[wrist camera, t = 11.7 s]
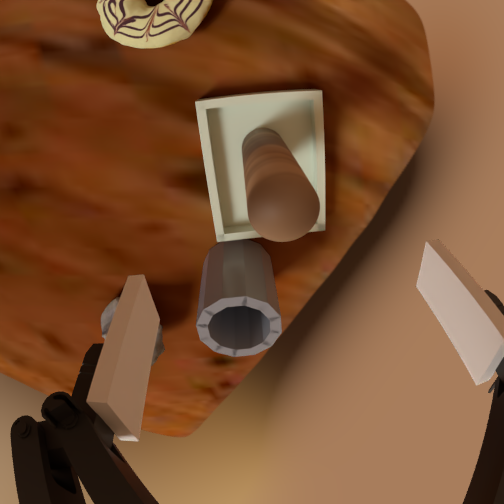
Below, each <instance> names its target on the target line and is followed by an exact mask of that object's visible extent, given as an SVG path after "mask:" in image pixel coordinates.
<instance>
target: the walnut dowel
mask: <svg viewBox="0 0 504 504" xmlns="http://www.w3.org/2000/svg"><path fill="white" fill-rule="evenodd" d="M242 158H243V169H244V180H245V190H246V201H247V211H248V218H249V221H250V223H251V225H252V227H253V228H254V230H255V231H256V232H257V233H258V234H259V235H261V236H262V237H264V238H266V239H268V240H272V241H276V242H287V241H292V240H295V239H298V238H300V237H302V236H304V235H305V234H306V233H308V232H309V231H310V230H311V229H312V227H313V226H314V225H315V223H316V221H317V219H318V216H319V212H320V201H319V197H318V195H317V193H316V191H315V189H314V188H313V186H312V185H311V183H310V181H309V180H308V178H307V176H306V175H305V173H304V172H303V170H302V169H301V167H300V165H299V164H298V162H297V161H296V159H295V158H294V156H293V155H292V153H291V151H290V150H289V148H288V147H287V145H286V144H285V142H284V141H283V139H282V138H281V136H280V135H279V134H278V133H277V132H276V131H274V130H272V129H269V128H258V129H255V130H252V131H251V132H250V133H248V134H247V135H246V137H245V138H244V140H243V143H242Z"/></svg>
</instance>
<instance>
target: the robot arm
mask: <svg viewBox="0 0 504 504" xmlns="http://www.w3.org/2000/svg"><path fill="white" fill-rule="evenodd" d="M416 287H417V288H418V290H419V291H420V293H421V294H422V296H423V297H424V299H425V300H426V302H427V303H428V305H429V307H430V308H431V310H432V311H433V313H434V314H435V316H436V317H437V319H438V320H439V322H440V324H441V325H442V327H443V329H444V330H445V332H446V333H447V335H448V337H449V338H450V340H451V342H452V343H453V345H454V347H455V348H456V350H457V352H458V353H459V355H460V357H461V359H462V360H463V362H464V364H465V366H466V367H467V369H468V371H469V373H470V375H471V376H472V378H473V380H474V382H475V383H476V385H479V384H481V383H483V382H485V381H488V380H490V378H491V377H492V375H493V374H494V372H495V371H496V372H497V374H498V377H497V379H496V380H495V382H494V383H493V385H492V386H491V388H490V389H489V392H488V393H490V392H491V391H492V390H493V389H494V393H493V400H492V405H491V410H490V414H489V420H488V423H487V428H486V432H485V436H484V440H483V444H482V447H481V451H480V455H479V458H478V461H477V464H476V468H475V471H474V474H473V477H472V480H471V483H470V486H469V488H468V491H467V494H466V497H465V499H464V502H463V504H504V306H503V304H502V303H501V301H500V300H499V299H498V298H497V296H495V295H494V294H493V293H491V292H490V291H488V290H485V291H484V290H483V289H482V288H481V287H480V285H479V284H478V283H477V282H476V281H475V279H474V278H473V277H472V276H471V275H470V274H469V272H468V271H467V270H466V269H465V268H464V267H463V265H462V264H461V263H460V262H459V261H458V260H457V259H456V258H455V257H454V256H453V254H452V253H451V252H450V251H449V250H448V249H447V248H446V247H445V246H444V245H443V244H442V242H441V241H440V240H439V239H437V240H430V241H426V244H425V250H424V254H423V259H422V263H421V268H420V272H419V276H418V281H417V285H416ZM159 322H160V318H159V315H158V313H157V310H156V307H155V304H154V302H153V299H152V296H151V293H150V290H149V288H148V285H147V282H146V279H145V276H144V274H143V275H134V276H128V278H127V281H126V284H125V286H124V289H123V291H122V294H121V297H120V299H119V302H118V305H117V307H116V310H115V313H114V316H113V319H112V321H111V324H110V327H109V330H108V333H107V336H106V339H105V342H104V343H103V344H93V345H92V346H91V347H90V349H89V350H88V351H87V352H86V354H85V357H84V360H83V363H82V366H81V369H80V372H79V373H80V374H79V375H78V378H77V381H76V384H75V387H74V390H73V393H72V396H70V395H69V394H68V393H66V392H55V393H53V394H51V395H50V396H49V397H47V398H46V400H45V401H44V403H43V405H42V409H41V413H42V417H43V418H44V419H45V420H46V421H42V422H36V421H35V420H34V419H33V418H32V417H30V416H22V417H20V418H18V419H17V420H16V421H15V422H14V423H13V425H12V427H11V447H12V457H13V465H14V474H15V481H16V487H17V493H18V499H19V504H86V503H85V499H84V496H83V493H82V489H81V486H80V482H79V479H78V477H79V478H80V480H81V482H82V484H83V485H84V487H85V489H86V491H87V492H88V494H89V496H90V497H91V499H92V501H93V502H94V504H159V503H158V502H157V501H156V500H155V498H154V497H153V496H152V495H151V493H150V492H149V491H148V490H147V488H146V487H145V486H144V484H143V483H142V482H141V481H140V479H139V478H138V476H136V474H135V472H134V471H133V470H132V468H131V467H130V466H129V464H128V463H127V461H126V460H125V459H124V457H123V456H122V454H121V453H120V451H119V450H118V448H117V447H116V445H115V444H114V443H113V437H114V434H115V435H116V436H117V437H118V438H119V439H120V440H127V441H139V437H140V430H141V423H142V416H143V410H144V403H145V397H146V391H147V385H148V379H149V374H150V368H151V363H152V357H153V352H154V347H155V342H156V337H157V332H158V327H159Z"/></svg>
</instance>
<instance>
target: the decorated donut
mask: <svg viewBox="0 0 504 504" xmlns="http://www.w3.org/2000/svg"><path fill="white" fill-rule="evenodd" d="M212 1H213V0H164V1H163V2H161V3H160V4H158V5H156V6H153V7H152V6H148V5H147V3H146V1H145V0H98V2H97V10H98V12H99V14H100V19H101V22H102V26H103V28H104V30H105V32H106V33H107V34H108V36H109V37H110V38H112V39H114V40H115V41H117V42H119V43H121V44H122V45H128V46H131V47H135V48H146V49H149V48H150V49H153V48H161V47H165V46H168V45H172V44H175V43H177V42H179V41H181V40H184V39H187V38H189V37H190V36H191V35H192V33H193V32H194V30H195V29H196V28H197V27H198V26H199V24H200V23H201V22H202V20H203V19H204V17H205V16H206V14H207V13H208V11H209V9H210V7H211V5H212Z"/></svg>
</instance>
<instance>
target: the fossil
mask: <svg viewBox="0 0 504 504" xmlns="http://www.w3.org/2000/svg"><path fill="white" fill-rule="evenodd" d="M119 299H120V297H116V298H115V299H114V300H113V301H111V303H110V304H109V305H108V306H107V307H106V309H105V310H104V312H103V313H102V316H101V327H102V337H104V338H105V339H106V336H107V333H108V330H109V327H110V324H111V321H112V319H113V316H114V313H115V310H116V307H117V305H118V302H119ZM162 328H163V327H162V325H160V323H159V327H158V332H157V337H156V342H155V347H154V352H153V357H152V363H151V366H152V365H153V364H154V363H155V362H156V361H157V358H158V356H159V355H160V354H161V353H163V352H164V350H165V347H164V345H163V342H162Z"/></svg>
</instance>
